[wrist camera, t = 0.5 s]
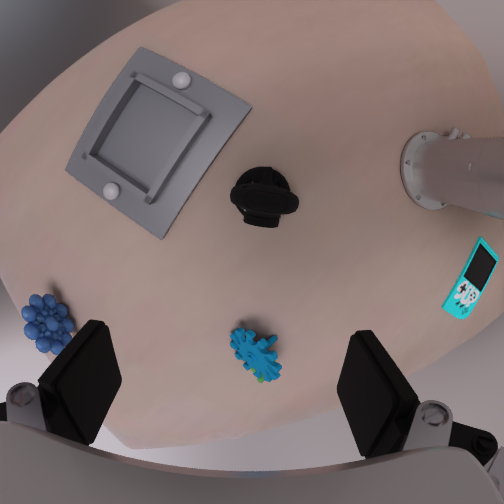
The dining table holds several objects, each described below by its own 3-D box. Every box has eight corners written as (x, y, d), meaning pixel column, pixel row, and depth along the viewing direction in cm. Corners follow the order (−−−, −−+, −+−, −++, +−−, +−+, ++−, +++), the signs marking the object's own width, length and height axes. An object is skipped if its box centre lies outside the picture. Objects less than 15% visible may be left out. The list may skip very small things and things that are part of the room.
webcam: (229, 217, 38) (223, 233, 28) (237, 163, 36) (233, 160, 26) (285, 225, 38) (298, 243, 29) (294, 171, 36) (310, 172, 27)
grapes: (39, 285, 41) (1, 312, 29) (60, 277, 40) (20, 306, 29) (65, 337, 44) (35, 371, 32) (87, 333, 43) (56, 371, 32)
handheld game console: (438, 305, 43) (442, 308, 42) (477, 234, 39) (481, 235, 38) (461, 320, 45) (465, 323, 43) (496, 256, 41) (500, 258, 40)
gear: (221, 322, 41) (272, 349, 34) (248, 303, 44) (299, 325, 38) (233, 370, 45) (278, 397, 39) (256, 351, 49) (301, 374, 42)
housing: (142, 48, 30) (134, 40, 27) (252, 108, 34) (252, 102, 30) (68, 169, 35) (55, 170, 32) (163, 238, 39) (155, 244, 35)
